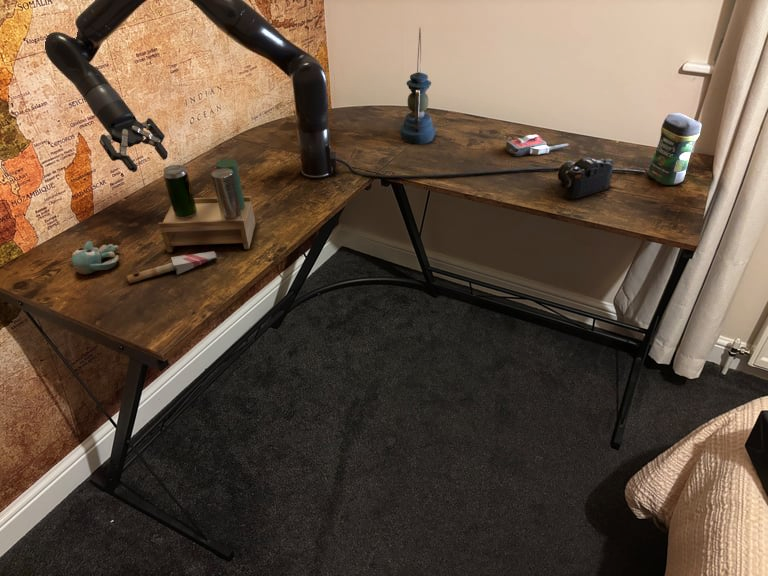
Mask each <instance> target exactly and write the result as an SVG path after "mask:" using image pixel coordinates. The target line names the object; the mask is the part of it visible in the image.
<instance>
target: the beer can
mask: <svg viewBox="0 0 768 576" xmlns="http://www.w3.org/2000/svg"><path fill="white" fill-rule="evenodd" d="M162 173H163V174H162V175H163V179H164V183H165V186H166V190H167V193H168V197H169V200H170V204H171V205H172V207H173V211H174V214H175V216H176V217H177V218H179V219H188V218H191V217H193V216H194V215H195V214H196V211H197V209H196V205H195V201H194V198H195V197H194V194H193V189H192V185H191V181H190V178H189V174H188V171H187V169H186V167H185V166H184V165H182V164H172V165H168V166H166V167H164V168H163V170H162Z"/></svg>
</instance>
